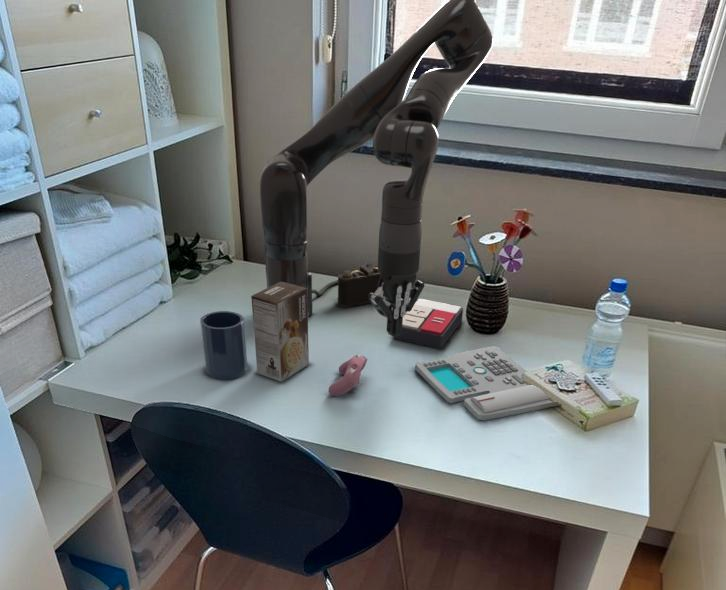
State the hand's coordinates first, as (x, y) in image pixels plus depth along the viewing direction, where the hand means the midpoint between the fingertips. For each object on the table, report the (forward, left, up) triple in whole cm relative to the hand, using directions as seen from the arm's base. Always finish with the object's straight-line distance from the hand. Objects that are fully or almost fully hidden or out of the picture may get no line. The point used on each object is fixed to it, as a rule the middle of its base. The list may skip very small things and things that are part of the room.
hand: (394, 334), depth 132 cm
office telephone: (-10, +16, -8) cm, 20 cm away
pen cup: (+26, -20, -8) cm, 34 cm away
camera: (-20, -30, -8) cm, 37 cm away
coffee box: (+17, -13, -8) cm, 23 cm away
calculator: (-19, -8, -8) cm, 22 cm away
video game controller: (+11, 0, -8) cm, 14 cm away
